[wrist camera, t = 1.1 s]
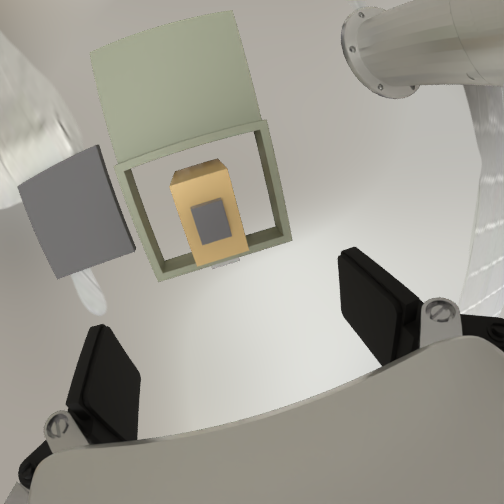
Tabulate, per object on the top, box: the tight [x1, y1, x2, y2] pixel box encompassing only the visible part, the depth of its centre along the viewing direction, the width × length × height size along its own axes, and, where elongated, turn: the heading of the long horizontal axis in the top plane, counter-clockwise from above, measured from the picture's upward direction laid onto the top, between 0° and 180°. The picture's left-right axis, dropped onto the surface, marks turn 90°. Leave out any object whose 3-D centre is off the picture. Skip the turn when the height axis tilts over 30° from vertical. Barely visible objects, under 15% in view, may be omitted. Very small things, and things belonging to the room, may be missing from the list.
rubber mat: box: [17, 145, 136, 279], centre depth 26 cm, size 11×12×1 cm
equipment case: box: [90, 10, 292, 282], centre depth 25 cm, size 15×26×3 cm, turn 14°
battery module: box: [170, 159, 249, 267], centre depth 25 cm, size 4×7×9 cm, turn 14°
